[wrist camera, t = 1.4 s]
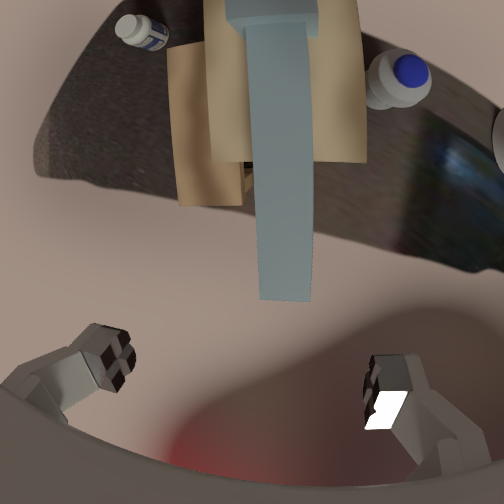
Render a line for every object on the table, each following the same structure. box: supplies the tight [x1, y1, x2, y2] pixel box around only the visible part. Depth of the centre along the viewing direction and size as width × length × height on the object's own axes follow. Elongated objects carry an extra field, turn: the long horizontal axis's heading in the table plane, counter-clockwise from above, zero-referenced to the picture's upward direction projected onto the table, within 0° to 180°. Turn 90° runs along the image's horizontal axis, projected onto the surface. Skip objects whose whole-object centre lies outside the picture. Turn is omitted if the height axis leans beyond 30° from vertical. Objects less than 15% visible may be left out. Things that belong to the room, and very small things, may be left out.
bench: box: [167, 41, 254, 206], centre depth 38 cm, size 8×20×14 cm, turn 3°
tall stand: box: [203, 0, 367, 163], centre depth 29 cm, size 11×14×26 cm
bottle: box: [365, 49, 431, 110], centre depth 29 cm, size 7×7×20 cm
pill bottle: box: [115, 14, 169, 51], centre depth 35 cm, size 5×5×10 cm
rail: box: [225, 0, 319, 302], centre depth 17 cm, size 5×23×5 cm, turn 3°
